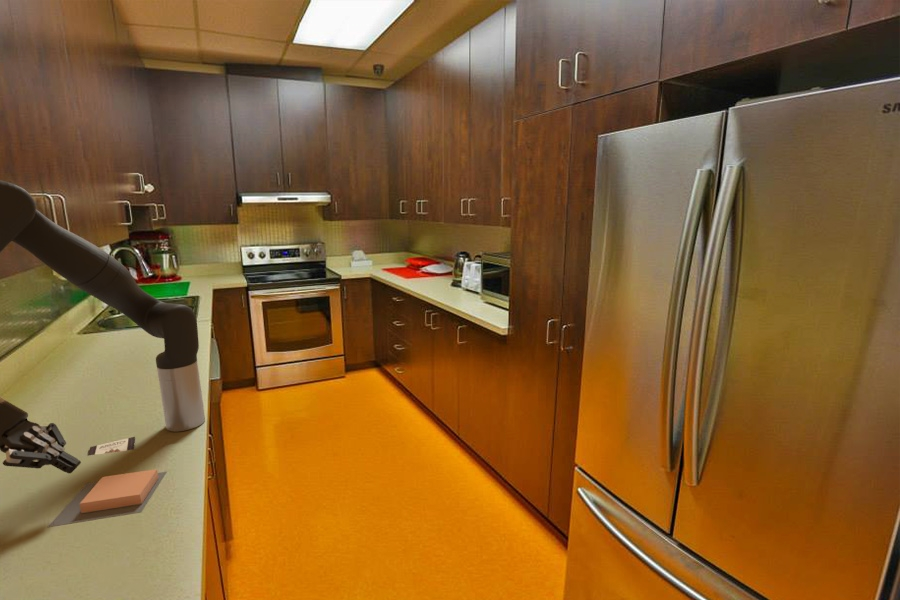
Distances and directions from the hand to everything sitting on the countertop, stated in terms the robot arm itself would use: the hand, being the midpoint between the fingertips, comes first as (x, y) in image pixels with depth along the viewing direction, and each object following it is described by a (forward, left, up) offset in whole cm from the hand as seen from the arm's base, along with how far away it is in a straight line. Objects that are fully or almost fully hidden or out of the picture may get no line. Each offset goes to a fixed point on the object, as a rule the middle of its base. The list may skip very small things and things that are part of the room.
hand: (76, 467), depth 87 cm
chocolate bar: (-18, -3, -9) cm, 20 cm away
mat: (0, +5, -8) cm, 10 cm away
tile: (0, +2, -6) cm, 6 cm away
